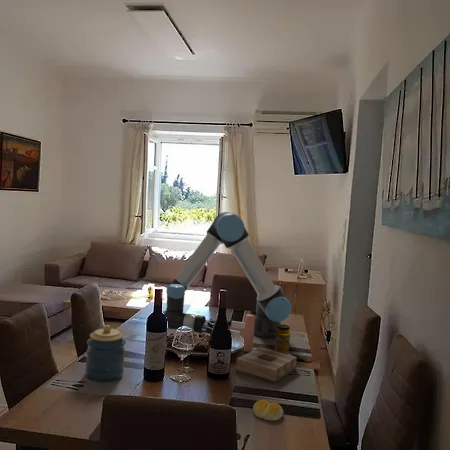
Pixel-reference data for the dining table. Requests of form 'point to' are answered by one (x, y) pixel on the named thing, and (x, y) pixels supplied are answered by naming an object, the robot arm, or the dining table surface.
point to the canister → (105, 355)
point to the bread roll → (267, 410)
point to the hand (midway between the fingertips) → (243, 330)
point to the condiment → (282, 339)
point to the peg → (249, 332)
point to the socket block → (266, 364)
